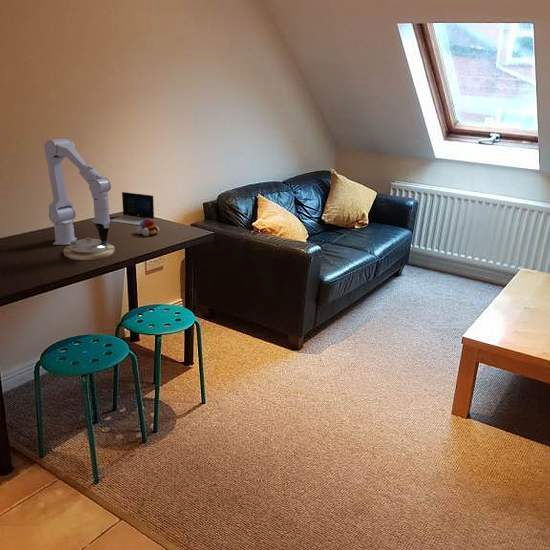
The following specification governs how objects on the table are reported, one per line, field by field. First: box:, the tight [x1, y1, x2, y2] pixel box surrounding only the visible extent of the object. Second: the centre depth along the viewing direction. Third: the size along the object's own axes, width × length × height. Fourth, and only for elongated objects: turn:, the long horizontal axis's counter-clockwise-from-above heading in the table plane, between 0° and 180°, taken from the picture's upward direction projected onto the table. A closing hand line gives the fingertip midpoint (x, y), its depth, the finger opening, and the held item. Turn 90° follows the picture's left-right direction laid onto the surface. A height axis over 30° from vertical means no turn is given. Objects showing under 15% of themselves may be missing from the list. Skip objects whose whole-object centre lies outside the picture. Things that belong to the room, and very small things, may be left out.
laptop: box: [110, 191, 155, 226], centre depth 273 cm, size 18×12×13 cm
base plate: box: [63, 243, 116, 261], centre depth 225 cm, size 20×20×2 cm
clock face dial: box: [69, 237, 109, 254], centre depth 224 cm, size 15×15×6 cm
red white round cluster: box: [136, 218, 160, 237], centre depth 253 cm, size 8×10×7 cm
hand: (103, 241), depth 224 cm, fingers closed
